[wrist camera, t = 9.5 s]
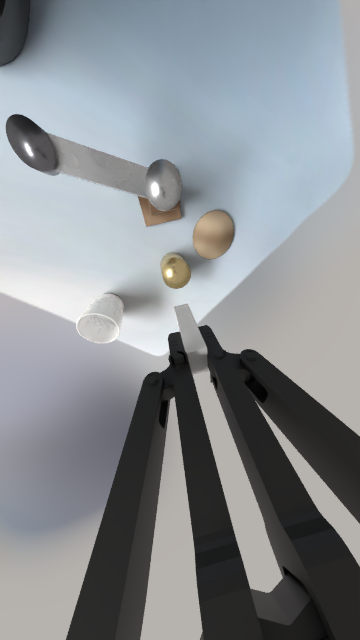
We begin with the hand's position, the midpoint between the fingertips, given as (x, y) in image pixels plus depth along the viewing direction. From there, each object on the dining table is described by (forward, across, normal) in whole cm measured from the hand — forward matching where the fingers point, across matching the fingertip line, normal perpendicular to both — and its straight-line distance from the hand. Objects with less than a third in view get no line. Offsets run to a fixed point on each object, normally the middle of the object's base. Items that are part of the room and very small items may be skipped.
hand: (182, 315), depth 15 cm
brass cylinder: (+21, +1, 0) cm, 21 cm away
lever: (+10, -4, +14) cm, 18 cm away
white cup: (+22, -16, -6) cm, 28 cm away
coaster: (+21, +11, +4) cm, 24 cm away
